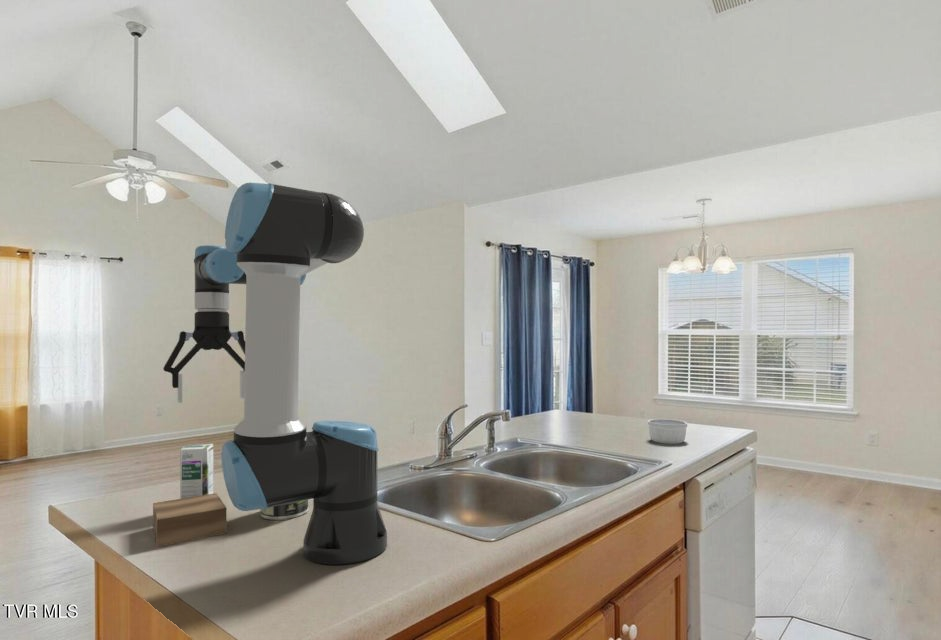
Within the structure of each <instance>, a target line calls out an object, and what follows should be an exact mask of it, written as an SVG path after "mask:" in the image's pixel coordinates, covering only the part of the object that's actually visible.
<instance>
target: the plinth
mask: <svg viewBox="0 0 941 640" xmlns="http://www.w3.org/2000/svg"><path fill="white" fill-rule="evenodd" d="M152 504H153V505H152V509H153V510H152V514H153V515H152V528H153V532H154V538H155V542H156V546H157V547H162V546H167V545H172V544H179V543H182V542H187V541H192V540H198V539H202V538H206V537H207V538H208V537H212V536H213V537H214V536H217V535H222V534H223V535H224V534H226V533H227V507H226V505H225V504H224V502H223V501H222V499H221V498H220V496H219V494H218V492H215V493H214V492H213V494H208V495H202V496H195V497H189V498H183V499H180V498H177V499H172V500H165V501H164V500H163V501H158V502H153V503H152Z"/></svg>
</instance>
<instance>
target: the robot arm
mask: <svg viewBox="0 0 941 640" xmlns="http://www.w3.org/2000/svg"><path fill="white" fill-rule="evenodd" d="M364 230H365V229H364V224H363V221H362V219H361V217H360V214H359V213H358V211H357V209H355V207H353V205H351V204H350V203H349V202H348V201H347V200H345V199H343V198H342V197H340V196H338V195H335V194H332V193H328V192H320V191H314V190H308V189H302V188H297V187H292V186H285V185H280V184H275V183H260V182H246V183H243V184H241V185H240V186H239V187H238V188H237V189H236V191H235V193H234V195H233V197H232V198H231V202H230V205H229V209H228V212H227V216H226V222H225V230H224V239H225V242H224V243H225V246H220V245H210V244H209V245H207V244H205V245H199V246H196V248H195V249H194V258H193V263H194V309H195V310H196V311H195V313H194V328H193V329H194V330H193V332H186V331H184V330H183V331H180V332H179V334H178V341H177V342H176V345H175V346H174V348H173V350H172V351H171V353H170V356H169V357H168V359H167V361H166V362H165V364H164V366H163V368H162V369H163V371H164V372H167V373H170V374H171V380H172V381H171V386H172V388H173V389H177V403H179V404H180V403H181V404H182V403H183V374H182V373H180V372H181V371H182V370H183V368H184V367H185V366H187V364H188V363H189V362H190V361H191V360H192V359H193V357H195V355H196V354H197V353H198V352H200V350H204V351H210V350H214V351H215V350H217V351H220V350H222V349H223V351H225V352H227V354H228V355H229V356H230V357H231V358H232V359H233V361H235V362H236V364H238V365H239V367H240V368H241V369H242V370H239V398H240V399H244V400H243V401H244V402H243V418H242V420H241V421H240V422H238V424H236V426H235V427H234V429H233V440H232V439H231V440H227V441H226V442H224V443H223V445H222V447H221V455H220V457H221V467H222V469H221V470H222V473H223V474H222V475H223V479H224V484H225V489H226V491H227V493H228V494H227V495H228V498H229V499H230V500H231V502H232V504H233V506H234V507H235V508H236V509H237V510H238V511H242V512H250V511H256V510H261V509H267V508H270V507H275V506H280V505H284V504H289V503H294V502H299V501H304V500H308V501H309V500H312V499H313V500H312V504H313V506H312V507H313V508H312V513H311V516H310V518H309V521H308V524H307V528H306V530H305V534H304V537H303V542H302V543H303V546H302V551H303V556H304V557H305V558H306V559H307V560H309V561H311V562H314V563H317V564H321V565H322V564H323V565H347V564H355V563H359V562H363V561H367V560H369V559H370V560H371V559H373V558H376V556H378V555H380V554H382V553H383V552H384V551H385V550H386V549H387V547H388V531H387V527H386V524H385V522H384V520H383V516H382V513H381V510H380V507H379V503H378V501H379V500H378V452H379V448H378V446H379V445H378V438H377V432H376V430H375V428H374V427H372V426H371V425H369V424H366V423H361V422H353V421H342V420H320V421H315V422H314V423H313V424H312V427H311V431H307V424H306V423H305V422H304V421H303V420H302V419H301V418H300V417H299V415H298V411H299V366H300V361H299V360H300V322H301V321H300V317H301V316H300V313H301V307H300V306H301V286H302V285H303V284H304V282H305V280H306V276H307V274H308V273H310V272H313V271H315V270H317V269H318V268H320V267H323V266H325V265H326V264H339V263H342V262H344V261H346V260H349V259H350V258H351V257H353V256H354V255H356V254H357V252H358V251H359V250H360V248H361V247H362V244H363V241H364V236H365V232H364ZM230 284H232V285H245V289H246V290H245V330H244V331H245V332H244V331H242V330H237V331H232V332H231V331H230V313H229V312H228V310H229V309H230ZM244 334H245V335H244ZM190 338H192V339H193V340H194V342H196V344H195V345H194V346H193V347H192V348H191V349H190V350H189V351H188V352H187V353H186V355H184V357H183V358H182V359H181V360H180V361H179V362H178V363H177V364H176V365H175V367H173V365H174V363H175V361H176V359H177V358H178V356H179V354H180V352H181V350H183V349H182V348H183V347H184V345H185V343H186V342H188V341H189V340H190ZM232 338H233V339H234V340H235V341H237V344H238V346H239V347H240V349H241V351H242V353H243V354H244V360H243V358H242V357H241V356H240V355H239V354H238V353H237V352H236V351H235V350H234V349H233V348H232V346H231V345H230V344H229V340H231V339H232Z"/></svg>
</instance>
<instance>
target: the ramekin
mask: <svg viewBox="0 0 941 640" xmlns="http://www.w3.org/2000/svg"><path fill="white" fill-rule="evenodd" d="M647 425H648V430H649V438H650V440H651V441H653V442H655V443H658V444H664V445H665V444H666V445H667V444H668V445H669V444H670V445H673V444H674V445H675V444H676V445H677V444H682V443H683V442H685V440H686V435H687V428H688V423H687V422H686V421H684V420H680V419H673V418H672V419H671V418H652V419H648V420H647Z"/></svg>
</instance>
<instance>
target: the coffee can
mask: <svg viewBox="0 0 941 640" xmlns="http://www.w3.org/2000/svg"><path fill="white" fill-rule="evenodd" d="M309 509H310V508H309V499H308V500H304V501H299V502H294V503H289V504H284V505H280V506H275V507H270V508H267V509H260V517H261V518H263V519H265V520H270V521H271V520H272V521H282V520H283V521H285V520H288V519H289V520H290V519H295V518H298V517H301V516H304V515H305V514H307V513H308V512H309Z"/></svg>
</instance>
